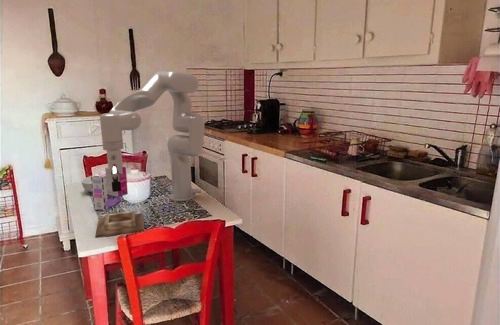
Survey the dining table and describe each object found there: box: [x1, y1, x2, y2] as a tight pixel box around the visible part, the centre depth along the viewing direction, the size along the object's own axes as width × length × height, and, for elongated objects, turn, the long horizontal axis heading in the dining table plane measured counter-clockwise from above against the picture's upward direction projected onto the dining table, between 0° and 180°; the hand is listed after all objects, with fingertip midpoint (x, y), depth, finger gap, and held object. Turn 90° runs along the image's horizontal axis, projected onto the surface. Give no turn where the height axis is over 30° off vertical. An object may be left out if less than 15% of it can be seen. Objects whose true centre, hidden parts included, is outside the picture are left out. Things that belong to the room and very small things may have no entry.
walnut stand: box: [95, 210, 145, 238], centre depth 152 cm, size 18×18×4 cm
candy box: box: [90, 170, 122, 212], centre depth 174 cm, size 14×6×16 cm, turn 168°
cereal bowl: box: [81, 175, 93, 193], centre depth 196 cm, size 17×17×7 cm
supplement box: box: [104, 166, 128, 198], centre depth 148 cm, size 6×6×12 cm
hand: (117, 187), depth 149 cm, fingers closed on supplement box, 7 cm apart
